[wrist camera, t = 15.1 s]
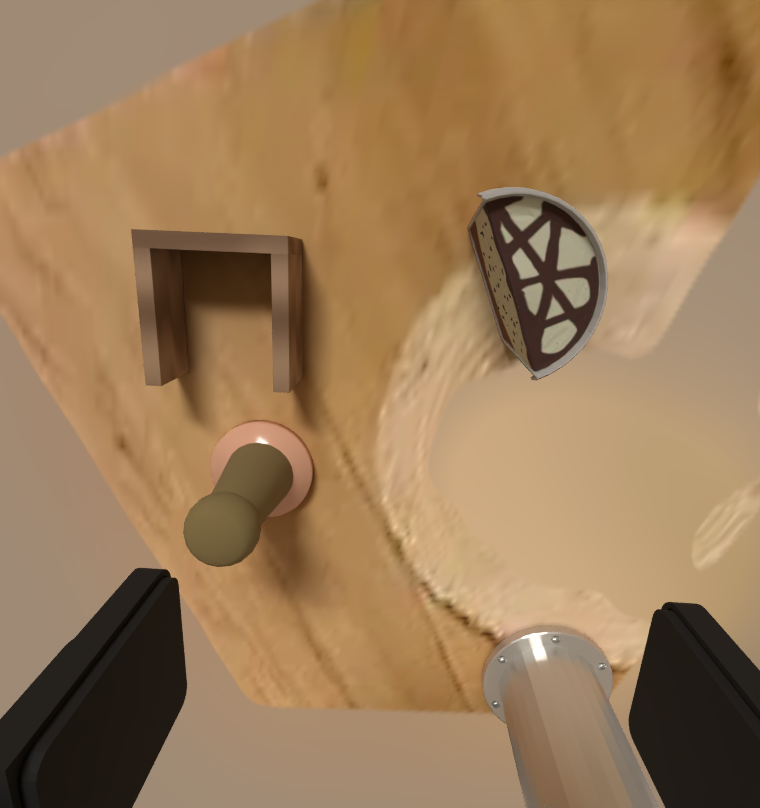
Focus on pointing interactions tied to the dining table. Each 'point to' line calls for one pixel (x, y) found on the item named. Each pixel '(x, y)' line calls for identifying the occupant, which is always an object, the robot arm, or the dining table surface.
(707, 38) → the dining table surface
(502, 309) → the food container
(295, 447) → the terracotta coaster
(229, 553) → the olive peg doll
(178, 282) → the walnut shelf bay
